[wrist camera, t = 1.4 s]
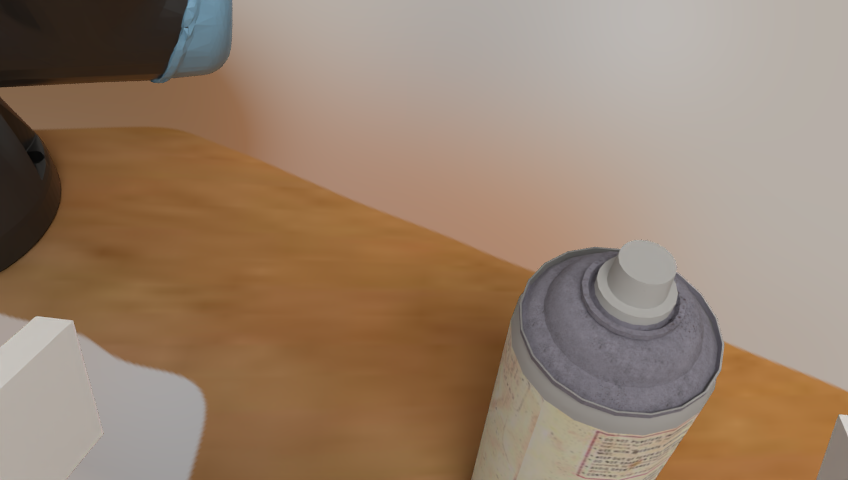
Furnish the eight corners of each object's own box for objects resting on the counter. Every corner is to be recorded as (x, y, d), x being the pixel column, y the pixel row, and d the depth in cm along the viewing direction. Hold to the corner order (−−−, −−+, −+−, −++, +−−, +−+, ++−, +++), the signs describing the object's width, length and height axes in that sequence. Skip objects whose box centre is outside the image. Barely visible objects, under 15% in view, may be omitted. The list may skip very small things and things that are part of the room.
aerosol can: (556, 442, 40) (671, 159, 25) (630, 565, 36) (820, 315, 21) (439, 489, 38) (489, 212, 23) (503, 626, 34) (615, 397, 19)
